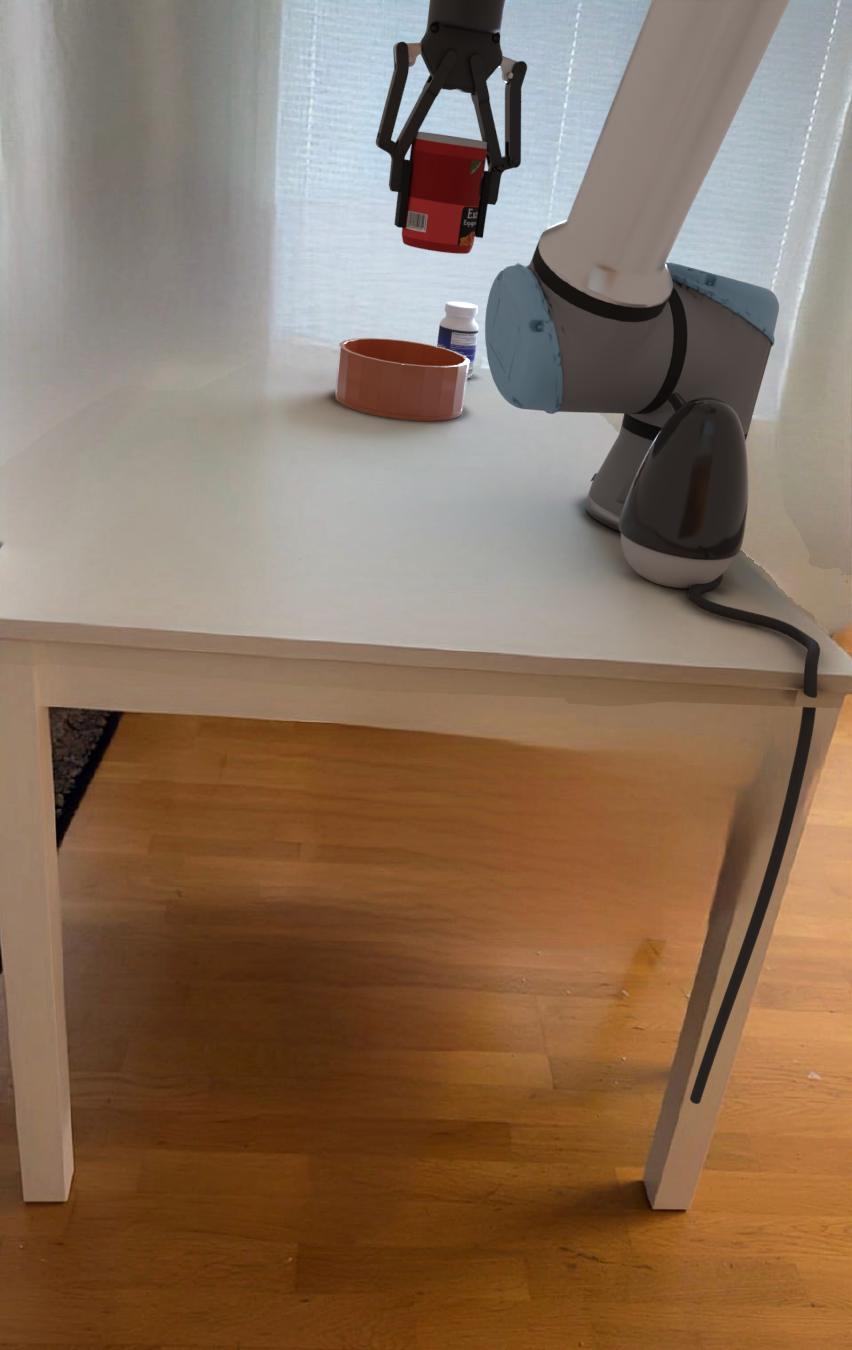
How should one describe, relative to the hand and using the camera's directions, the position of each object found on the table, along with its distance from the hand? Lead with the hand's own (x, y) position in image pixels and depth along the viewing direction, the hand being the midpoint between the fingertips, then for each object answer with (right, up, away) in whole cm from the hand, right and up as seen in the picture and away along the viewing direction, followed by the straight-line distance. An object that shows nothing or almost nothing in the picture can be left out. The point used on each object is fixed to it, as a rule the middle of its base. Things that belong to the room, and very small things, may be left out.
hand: (438, 231), depth 116 cm
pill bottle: (+3, -4, +41) cm, 41 cm away
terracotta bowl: (-5, -14, +20) cm, 25 cm away
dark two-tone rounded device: (+19, -40, -25) cm, 51 cm away
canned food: (0, -2, +1) cm, 2 cm away
